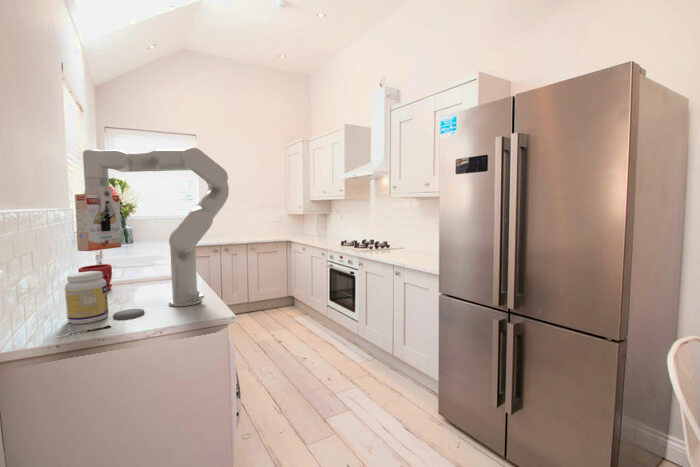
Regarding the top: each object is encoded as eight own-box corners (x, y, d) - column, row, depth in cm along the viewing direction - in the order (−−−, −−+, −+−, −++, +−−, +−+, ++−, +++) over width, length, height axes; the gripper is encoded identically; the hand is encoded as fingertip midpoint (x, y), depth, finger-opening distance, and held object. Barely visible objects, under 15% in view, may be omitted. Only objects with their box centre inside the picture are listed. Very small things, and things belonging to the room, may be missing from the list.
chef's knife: (38, 340, 114) (37, 342, 111) (37, 336, 114) (37, 339, 111) (110, 326, 126) (111, 328, 123) (110, 323, 126) (111, 325, 123)
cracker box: (90, 251, 132) (86, 193, 130) (77, 251, 133) (73, 194, 131) (122, 247, 145) (119, 194, 143) (110, 246, 147) (107, 194, 145)
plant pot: (112, 286, 184) (111, 262, 183) (113, 291, 173) (111, 266, 172) (80, 289, 177) (79, 265, 176) (79, 295, 166) (77, 269, 165)
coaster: (150, 312, 140) (150, 309, 140) (127, 320, 130) (127, 317, 130) (130, 310, 143) (130, 307, 143) (106, 318, 133) (106, 315, 133)
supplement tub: (113, 318, 132) (110, 273, 131) (71, 327, 123) (68, 278, 122) (103, 312, 141) (100, 269, 139) (63, 319, 132) (60, 274, 130)
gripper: (122, 183, 137) (125, 230, 139) (91, 184, 143) (93, 229, 145) (103, 182, 130) (106, 232, 132) (70, 183, 136) (73, 231, 138)
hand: (99, 230), depth 139 cm, fingers closed on cracker box, 6 cm apart
